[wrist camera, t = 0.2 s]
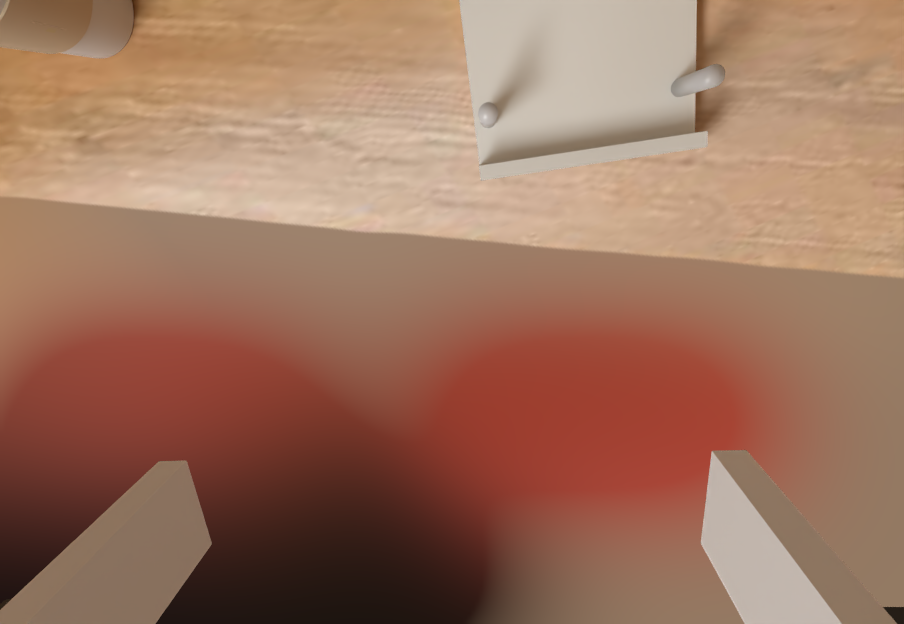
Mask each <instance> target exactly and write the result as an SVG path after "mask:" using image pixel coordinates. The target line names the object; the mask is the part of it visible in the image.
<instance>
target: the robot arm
mask: <svg viewBox="0 0 904 624" xmlns="http://www.w3.org/2000/svg"><path fill="white" fill-rule="evenodd" d="M211 544H212V543H211V540H210V537H209V534H208V530H207V527H206V523H205V521H204V517H203V513H202V510H201V507H200V504H199V501H198V497H197V494H196V491H195V487H194V484H193V481H192V478H191V474H190V471H189V468H188V464H187V461H159V462H158V463H157V464H156V465H155V466H154V467H153V468H152V469H150V470H149V471H148V472H147V473H146V474H145V475H144V476H143V477H142V478H141V479H140V480H139V481H138V482H136V484H134V485H133V486H132V487H131V488H130V489H129V490H128V491H127V492H126V493H125V494H124V495H123V496H122V497H120V498H119V499H118V500H117V501H116V502H115V503H114V504H113V505H112V506H111V507H110V508H109V509H108V510H107V511H105V512H104V513H103V514H102V515H101V516H100V517H99V518H98V519H97V520H96V521H95V522H94V523H93V524H92V525H91V526H90V527H88V528H87V529H86V530H85V531H84V532H83V533H82V534H81V535H80V536H79V537H78V538H77V539H76V540H74V541H73V542H72V543H71V544H70V545H69V546H68V547H67V548H66V549H65V550H64V551H63V552H62V553H61V554H60V555H58V556H57V557H56V558H55V559H54V560H53V561H52V562H51V563H50V564H49V565H48V566H47V567H46V568H45V569H43V570H42V571H41V572H40V573H39V574H38V575H37V576H36V577H35V578H34V579H33V580H32V581H31V582H30V583H29V584H28V585H26V586H25V587H24V588H23V589H22V590H21V591H20V592H19V593H18V594H17V595H16V596H15V597H14V598H12V599H7V600H5V601H4V602H2V603H1V604H0V624H155V623H156V622H157V620H158V619H159V617H160V616H161V615H162V613H163V612H164V610H165V609H166V608H167V606H168V605H169V603H170V602H171V601H172V599H173V598H174V596H175V595H176V594H177V592H178V591H179V589H180V588H181V586H182V585H183V584H184V582H185V581H186V579H187V578H188V577H189V575H190V574H191V572H192V571H193V570H194V568H195V566H196V565H197V564H198V562H199V561H200V560H201V558H202V557H203V555H204V554H205V553H206V551H207V550H208V548H209V547H210V545H211ZM701 544H702V546H703V548H704V550H705V552H706V554H707V555H708V557H709V559H710V561H711V563H712V565H713V566H714V568H715V570H716V572H717V574H718V576H719V577H720V579H721V581H722V583H723V585H724V586H725V588H726V590H727V592H728V594H729V596H730V598H731V599H732V601H733V603H734V605H735V607H736V609H737V610H738V612H739V614H740V616H741V618H742V620H743V621H744V623H745V624H904V607H882V606H881V605H880V603H879V602H878V601H877V600H876V599H875V598H874V597H873V595H872V594H871V593H870V592H869V591H868V590H867V588H866V587H865V586H864V585H863V584H862V583H861V582H860V580H859V579H858V578H857V577H856V576H855V575H854V573H853V572H852V571H851V570H850V569H849V568H848V567H847V566H846V564H845V563H844V562H843V561H842V560H841V559H840V557H839V556H838V555H837V554H836V553H835V552H834V551H833V549H832V548H831V547H830V546H829V545H828V544H827V542H826V541H825V540H824V539H823V538H822V537H821V536H820V534H819V533H818V532H817V531H816V530H815V529H814V528H813V526H812V525H811V524H810V523H809V522H808V521H807V519H806V518H805V517H804V516H803V515H802V514H801V513H800V511H799V510H798V509H797V508H796V507H795V506H794V504H793V503H792V502H791V501H790V500H789V499H788V498H787V496H786V495H785V494H784V493H783V492H782V491H781V489H779V487H778V486H777V485H776V484H775V483H774V482H773V480H772V479H771V478H770V477H769V476H768V475H767V473H766V472H765V471H764V470H763V469H762V468H761V466H760V465H759V464H758V463H757V462H756V461H755V460H754V459H753V457H752V456H751V455H750V454H749V453H748V452H747V450H730V451H712V455H711V463H710V471H709V480H708V489H707V497H706V505H705V514H704V522H703V530H702V539H701Z"/></svg>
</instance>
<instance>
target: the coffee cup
mask: <svg viewBox="0 0 904 624" xmlns="http://www.w3.org/2000/svg"><path fill="white" fill-rule="evenodd" d="M133 22H134V11H133V4H132V0H0V47H3V48H10V49H17V50H24V51H32V52H39V53H46V54H56V53H64V54H71V55H78V56H84V57H91V58H107V57H110V56H113V55H115V54H117V53H118V52H119V51H120V50H122V49H123V47H124V46H125V45H126V43H127V42H128V40H129V38H130V35H131V33H132V29H133Z"/></svg>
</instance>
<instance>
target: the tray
mask: <svg viewBox="0 0 904 624" xmlns="http://www.w3.org/2000/svg"><path fill="white" fill-rule="evenodd" d="M459 2H460V10H461V18H462V26H463V34H464V42H465V51H466V59H467V67H468V75H469V83H470V91H471V99H472V108H473V116H474V124H475V132H476V140H477V148H478V156H479V170H480V178H481V181H482V180H489V179H496V178H502V177H509V176H516V175H523V174H529V173H536V172H543V171H550V170H556V169H563V168H570V167H577V166H583V165H590V164H597V163H604V162H610V161H617V160H624V159H630V158H637V157H644V156H651V155H657V154H664V153H671V152H678V151H684V150H691V149H698V148H705V147H707V145H708V131H703V132H695V93H696V92H699V91H703V90H706V89H710V88H713V87H716V86H718V85H720V84H721V83H722V81H723V80H724V77H725V70H724V68H723V67H722V66H721V65H719V64H713V65H710V66H708V67H705V68H703V69H700V70H698V71H696V24H697V0H459Z"/></svg>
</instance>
